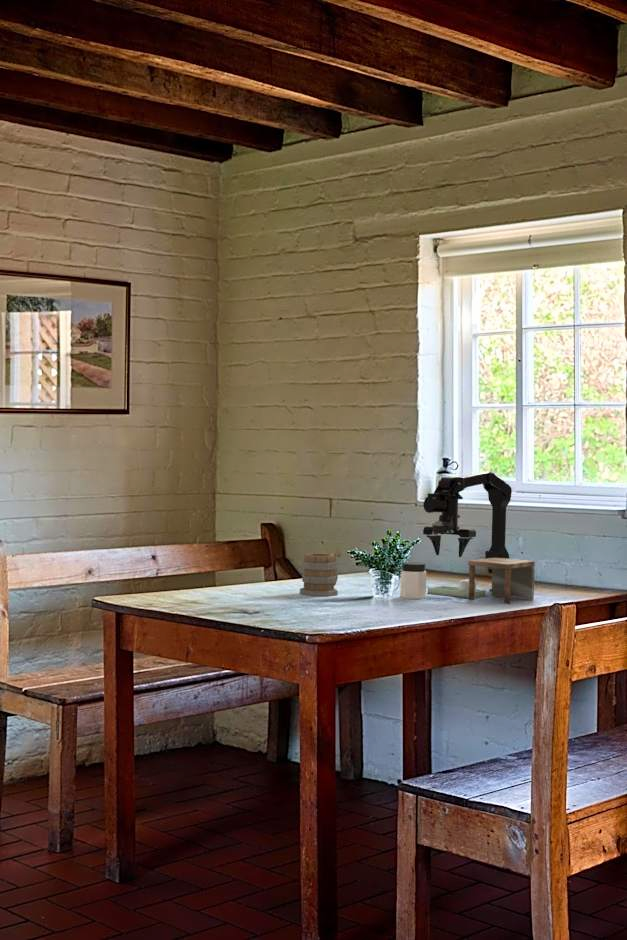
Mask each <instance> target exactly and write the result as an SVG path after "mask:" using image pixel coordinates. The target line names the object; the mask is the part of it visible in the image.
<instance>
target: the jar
mask: <svg viewBox="0 0 627 940" xmlns="http://www.w3.org/2000/svg"><path fill="white" fill-rule="evenodd" d="M401 570H402V572H401V571H400V587H399V589H400V593H399V594H400V598H402V599H408V600H422V599H426V597H427V571H426V563H424V562H418V561H417V562H415V561H406V562H405V563H404V562H402V565H401Z"/></svg>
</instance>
